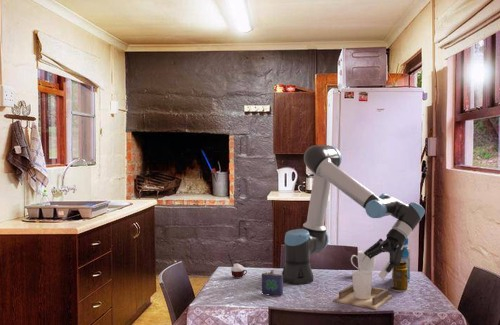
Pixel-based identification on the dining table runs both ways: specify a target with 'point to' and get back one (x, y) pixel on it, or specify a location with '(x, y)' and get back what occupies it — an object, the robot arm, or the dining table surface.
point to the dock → (374, 302)
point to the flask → (272, 283)
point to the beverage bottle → (405, 258)
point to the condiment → (400, 278)
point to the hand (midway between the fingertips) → (370, 273)
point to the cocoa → (237, 269)
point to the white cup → (362, 284)
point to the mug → (361, 257)
